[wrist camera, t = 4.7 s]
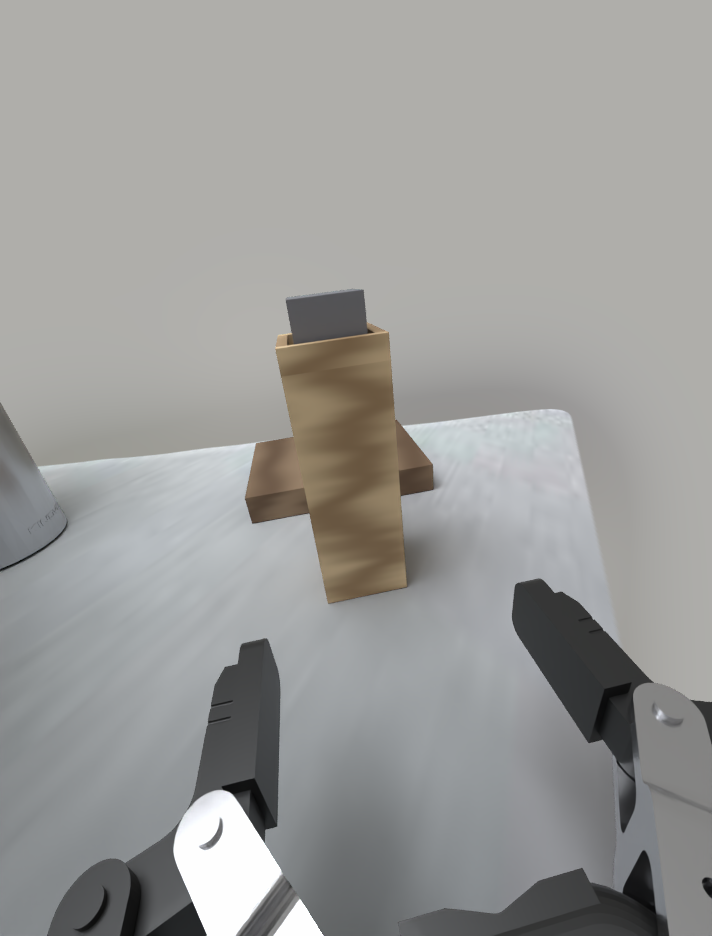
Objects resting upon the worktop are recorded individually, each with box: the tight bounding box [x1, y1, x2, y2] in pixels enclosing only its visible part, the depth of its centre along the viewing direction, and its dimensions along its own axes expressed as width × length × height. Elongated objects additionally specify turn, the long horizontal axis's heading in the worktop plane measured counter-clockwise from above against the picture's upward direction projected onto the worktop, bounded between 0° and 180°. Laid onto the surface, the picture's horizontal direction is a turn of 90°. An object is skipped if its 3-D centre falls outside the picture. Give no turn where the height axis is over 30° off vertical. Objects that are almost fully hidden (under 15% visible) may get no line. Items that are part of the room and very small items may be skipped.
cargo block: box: [286, 289, 368, 344], centre depth 18 cm, size 3×3×3 cm
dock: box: [245, 420, 433, 523], centre depth 37 cm, size 16×12×2 cm
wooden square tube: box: [276, 323, 407, 604], centre depth 22 cm, size 5×5×15 cm
